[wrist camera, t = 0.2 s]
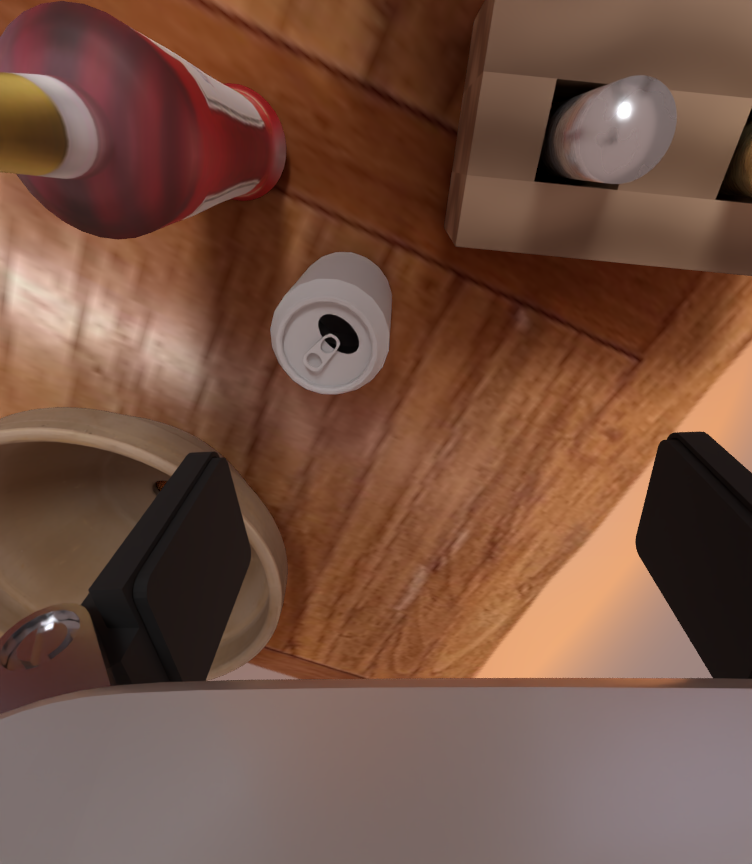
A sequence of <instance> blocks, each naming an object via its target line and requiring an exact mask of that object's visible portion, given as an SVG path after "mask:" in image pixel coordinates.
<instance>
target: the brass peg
mask: <svg viewBox="0 0 752 864" xmlns="http://www.w3.org/2000/svg"><path fill="white" fill-rule="evenodd" d="M718 193H719V194H726V195H735V196H744V197H752V116H748V118H747V121H746V123H745V126H744V128H743V131H742V133H741V136H740V138H739V141H738V143H737V146H736V149H735V151H734V154H733V156H732V159H731V161H730V164H729V166H728V169H727V171H726V174H725V176H724V179H723V181H722V184H721V186H720V189H719V191H718Z"/></svg>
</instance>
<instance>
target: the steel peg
mask: <svg viewBox="0 0 752 864" xmlns="http://www.w3.org/2000/svg"><path fill="white" fill-rule="evenodd" d="M676 123H677V110H676V105H675V101H674V98H673V96H672V94H671V92H670V90H669V89H668V88H667V87H666V85H664V84H663V83H662V82H661V81H659V80H657V79H656V78H653V77H650V76H645V75H637V76H630V77H627V78H624V79H621V80H618V81H616V82H613V83H610V84H607V85H605V86H602V87H599V88H596V89H594V90H591V91H588V92H585V93H583V94H580V95H577V96H574V97H572V98H569V99H566V100H564V101H561V102H559V103H558V104H556V105H554V106H553V107H552V108H551V109H550V112H549V117H548V121H547V126H546V130H545V135H544V139H543V144H542V148H541V153H540V157H539V162H538V165H539V166H540V168H541V169H542V170H543V171H544V172H546V173H547V174H549V175H551V176H553V177H558V178H565V179H574V180H583V181H592V182H600V183H609V184H623V183H627V182H631V181H634V180H636V179H638V178H640V177H642V176H643V175H645V174H646V173H648V172H649V171H650V170H651V169H653V168H654V167H655V166H656V165H657V164H658V163H659V161H660V160H661V159H662V158H663V156H664V155H665V153H666V152H667V150H668V148H669V146H670V144H671V142H672V139H673V136H674V133H675V129H676Z"/></svg>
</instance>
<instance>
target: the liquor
mask: <svg viewBox="0 0 752 864" xmlns="http://www.w3.org/2000/svg"><path fill="white" fill-rule="evenodd" d="M285 160H286V141H285V135H284V131H283V128H282V125H281V122H280V120H279V119H278V117H277V115H276V113H275V111H274V110H273V109H272V107H271V106H270V104H269V103H268V102H267V101H266V100H265V99H264V98H263V97H262V96H261V95H259V94H258V93H256V92H255V91H253V90H252V89H250V88H247V87H245V86H242V85H239V84H231V83H227V84H222V83H220V82H219V81H217V80H215V79H214V78H212V77H210V76H208V75H207V74H205V73H204V72H202V71H201V70H199V69H198V68H196V67H195V66H193V65H192V64H190V63H189V62H187V61H186V60H184V59H183V58H181V57H180V56H178V55H177V54H175V53H173V52H172V51H170V50H169V49H167V48H165V47H163V46H162V45H160V44H158V43H156V42H155V41H153V40H151V39H149V38H148V37H146V36H144V35H142V34H141V33H139V32H137V31H135V30H134V29H132V28H131V27H129V26H127V25H126V24H124V23H122V22H121V21H119V20H117V19H116V18H114V17H113V16H111V15H109V14H108V13H106V12H103V11H101V10H98V9H96V8H93V7H90V6H88V5H85V4H80V3H72V2H65V1H59V2H51V3H44V4H40V5H38V6H35V7H33V8H31V9H29V10H26V11H24V12H23V13H21V14H20V15H19V16H18V17H17V18H16V19H15V20H13V21H12V22H11V23H10V24H9V25H8V26H7V28H6V29H5V31H4V33H3V34H2V36H1V37H0V172H4V173H14V174H17V176H18V177H19V178H20V180H21V181H22V182H23V184H24V185H25V186H26V187H27V189H28V190H29V191H30V193H31V194H32V195H33V196H34V197H35V198H36V199H37V200H38V201H39V202H40V203H41V204H42V205H43V206H44V207H45V208H46V209H48V210H49V211H50V212H52V213H53V214H54V215H56V216H57V217H58V218H60V219H61V220H62V221H64V222H66V223H68V224H69V225H71V226H73V227H75V228H77V229H79V230H81V231H83V232H86V233H89V234H92V235H95V236H98V237H104V238H112V239H127V238H136V237H139V236H142V235H145V234H148V233H151V232H153V231H156V230H158V229H160V228H163V227H165V226H168V225H170V224H173V223H175V222H178V221H181V220H183V219H186V218H189V217H191V216H194V215H196V214H198V213H200V212H202V211H204V210H206V209H208V208H210V207H212V206H214V205H217V204H219V203H221V202H224V201H226V200H229V199H232V200H239V201H248V200H253V199H256V198H259V197H261V196H263V195H265V194H266V193H268V192H269V191H270V190H271V189H272V188H273V187H274V186H275V185H276V183H277V182H278V180H279V178H280V177H281V174H282V172H283V169H284V165H285Z"/></svg>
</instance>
